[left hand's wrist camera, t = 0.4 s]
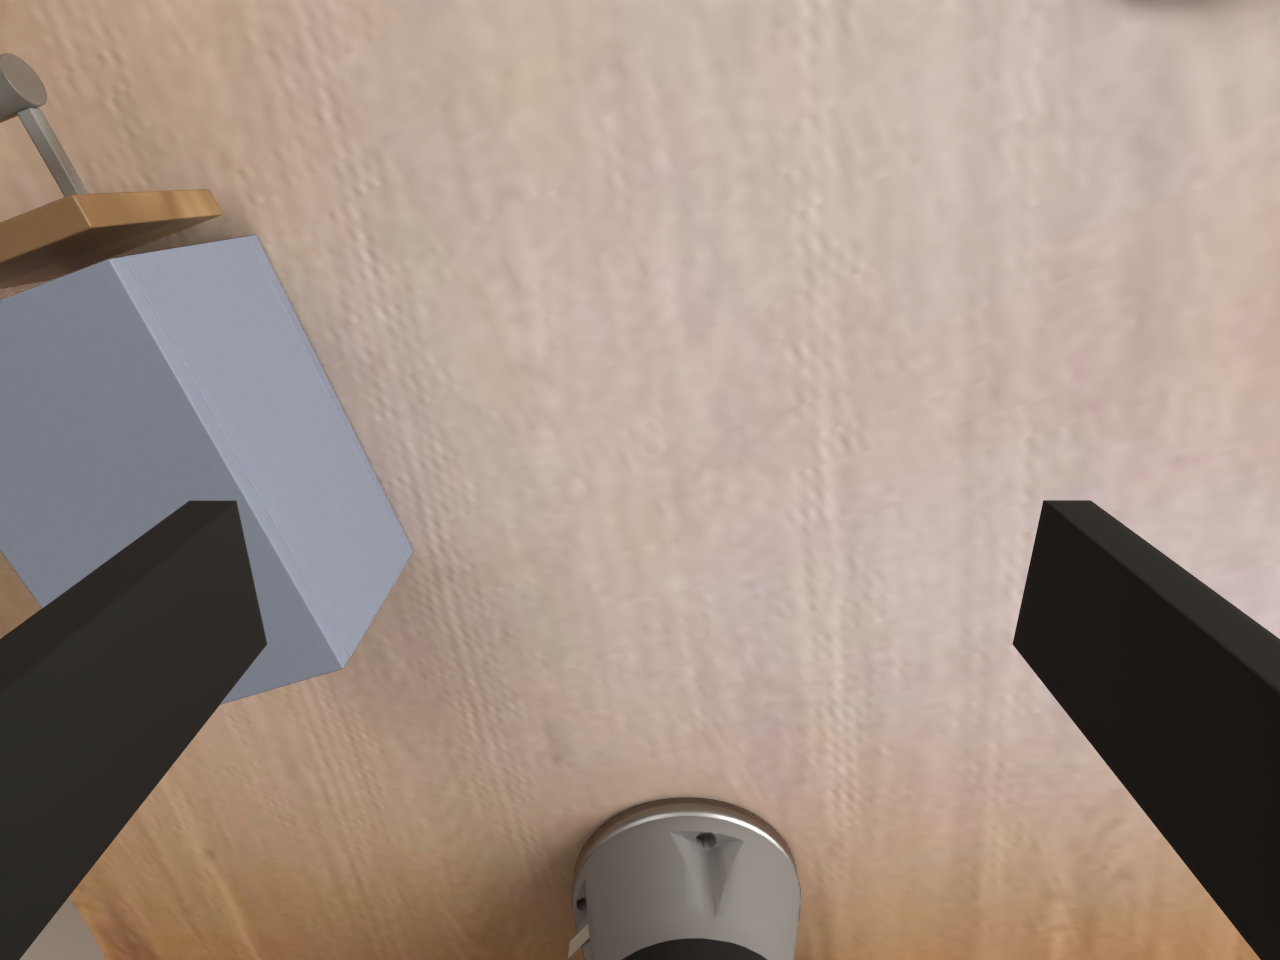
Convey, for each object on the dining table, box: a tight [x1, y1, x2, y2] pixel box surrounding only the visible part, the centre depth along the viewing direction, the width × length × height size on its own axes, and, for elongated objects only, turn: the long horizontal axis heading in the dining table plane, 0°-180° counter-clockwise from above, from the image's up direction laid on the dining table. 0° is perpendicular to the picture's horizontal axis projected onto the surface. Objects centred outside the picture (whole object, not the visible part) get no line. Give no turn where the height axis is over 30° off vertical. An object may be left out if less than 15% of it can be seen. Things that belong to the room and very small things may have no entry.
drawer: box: [0, 53, 222, 289], centre depth 34 cm, size 22×9×9 cm, turn 19°
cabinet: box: [0, 235, 414, 705], centre depth 36 cm, size 18×11×11 cm, turn 19°
